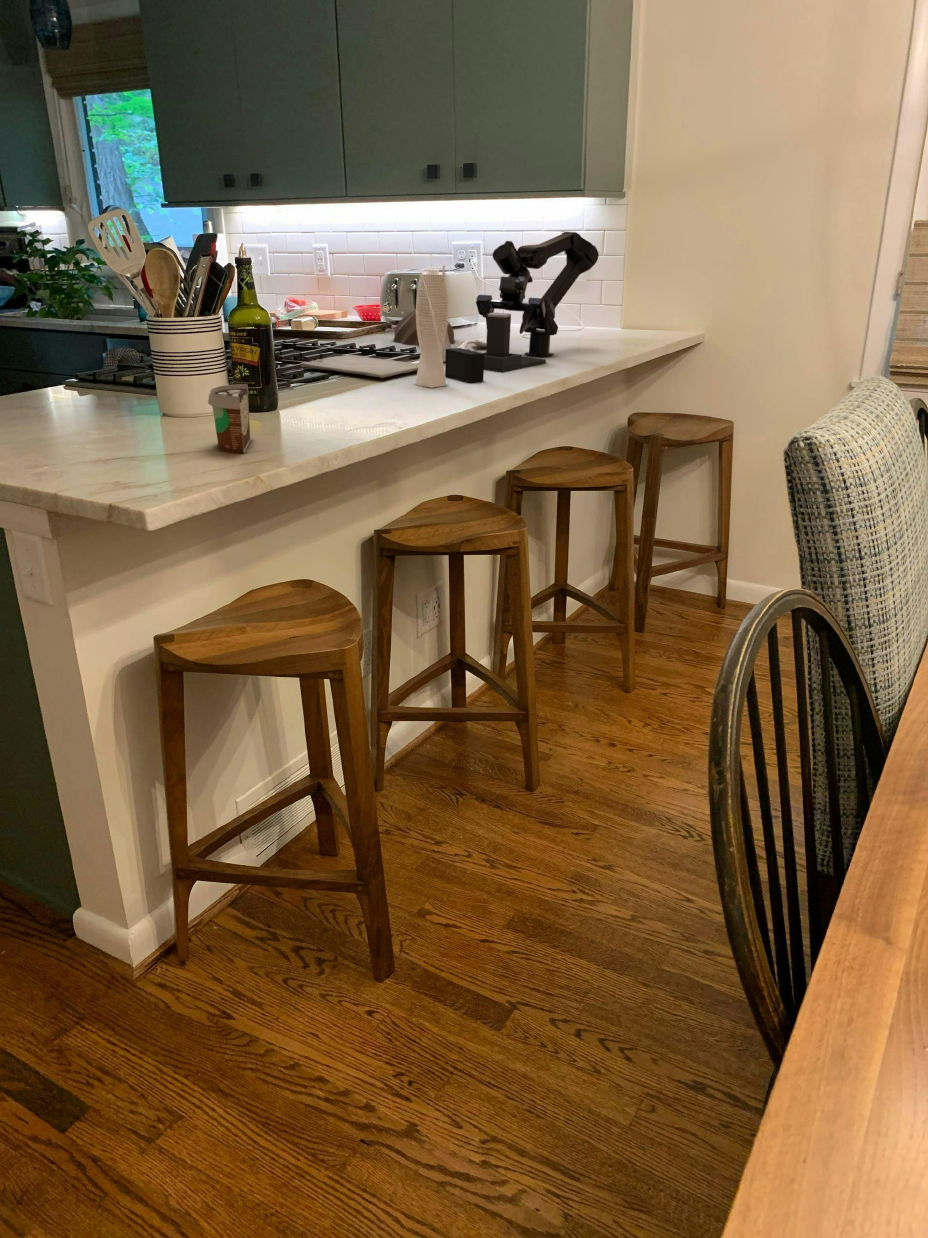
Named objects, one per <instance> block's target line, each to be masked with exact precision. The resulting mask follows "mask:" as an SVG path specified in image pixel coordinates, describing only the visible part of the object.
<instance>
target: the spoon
mask: <svg viewBox="0 0 928 1238" xmlns="http://www.w3.org/2000/svg"><path fill="white" fill-rule="evenodd" d="M473 344H474V345H475V346H477V347H481V348H485V349H486V344H487V336H486V337H481V338H478V339H476V338H472V339H467V340H465V341H464V342H463V343H461V344H460V345H459V346H458V347H457V348H462V349H466V347H467V346H468V345H473Z"/></svg>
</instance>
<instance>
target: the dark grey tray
mask: <svg viewBox="0 0 928 1238" xmlns="http://www.w3.org/2000/svg"><path fill="white" fill-rule="evenodd" d="M483 353H484V371H490V372H496V373H505V372H511V371H515V370H521V369H524V368H529V367H533V366H538V365H539V366H540V365H543V364H546V362H547V359H545V358H540V357H539V358H538V357H531V356H524V355H523V354H518V353H512V352H509V356H507V357H502V358H501V357H494V356H487V355H486V351H485V352H483Z"/></svg>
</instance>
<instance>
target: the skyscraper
mask: <svg viewBox="0 0 928 1238" xmlns="http://www.w3.org/2000/svg"><path fill="white" fill-rule="evenodd" d="M418 277H419V278H418V284H417V292H416V299H415V310H416V327H417V335H418V342H419V345H418V346H419V351H420V354H419V360H418V364H419V366H418V370H416V371H417V372H416V378H415V385H416V386H421V387H426V388H431V389H432V388H438V387H444V386H445V387H446V386H447V379H446V377H445V366H444V362H443V359H442V353H441V351H442V348H443V344H444V339H445V334H446V329H447V321H449V320H448V319H449V318H448V317H449V301H448V289H447V281H446V264H445V263H444V262H443V263H442V272H440V269H436V268H426V272H423V269H420V270H419V276H418Z"/></svg>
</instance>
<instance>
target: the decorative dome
mask: <svg viewBox="0 0 928 1238" xmlns="http://www.w3.org/2000/svg"><path fill="white" fill-rule="evenodd" d="M447 323H448V324H449V326H448V338H449V341H450V345H453V344H454V342H455V331H454V328H453V326H452V325H451V323H450V322H449V320H447ZM393 342H395V343H398V344H402V345H410V346H411V345H413V346H419V342H418V335H417V327H416V309H413V310H412V311H410V312H408V313H407V314H406V315H405V316H403V317H402V318H401V319H400V320H399V321H398V323H397V324H396V326H395V329H394V337H393Z"/></svg>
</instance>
